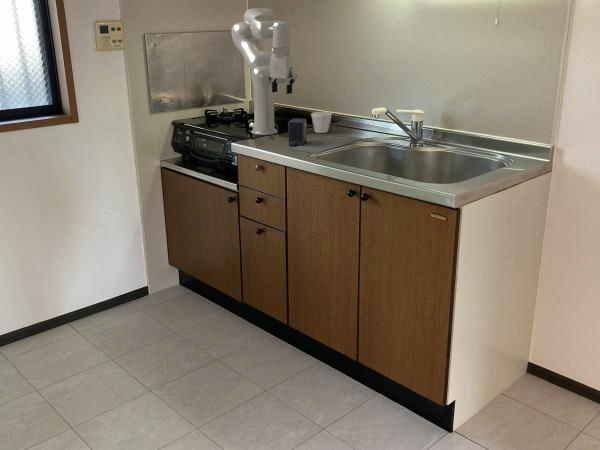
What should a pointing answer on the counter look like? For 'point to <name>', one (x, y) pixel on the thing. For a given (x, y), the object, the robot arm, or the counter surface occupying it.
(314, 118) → the cup
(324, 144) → the mat
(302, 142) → the small box
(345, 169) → the counter surface
